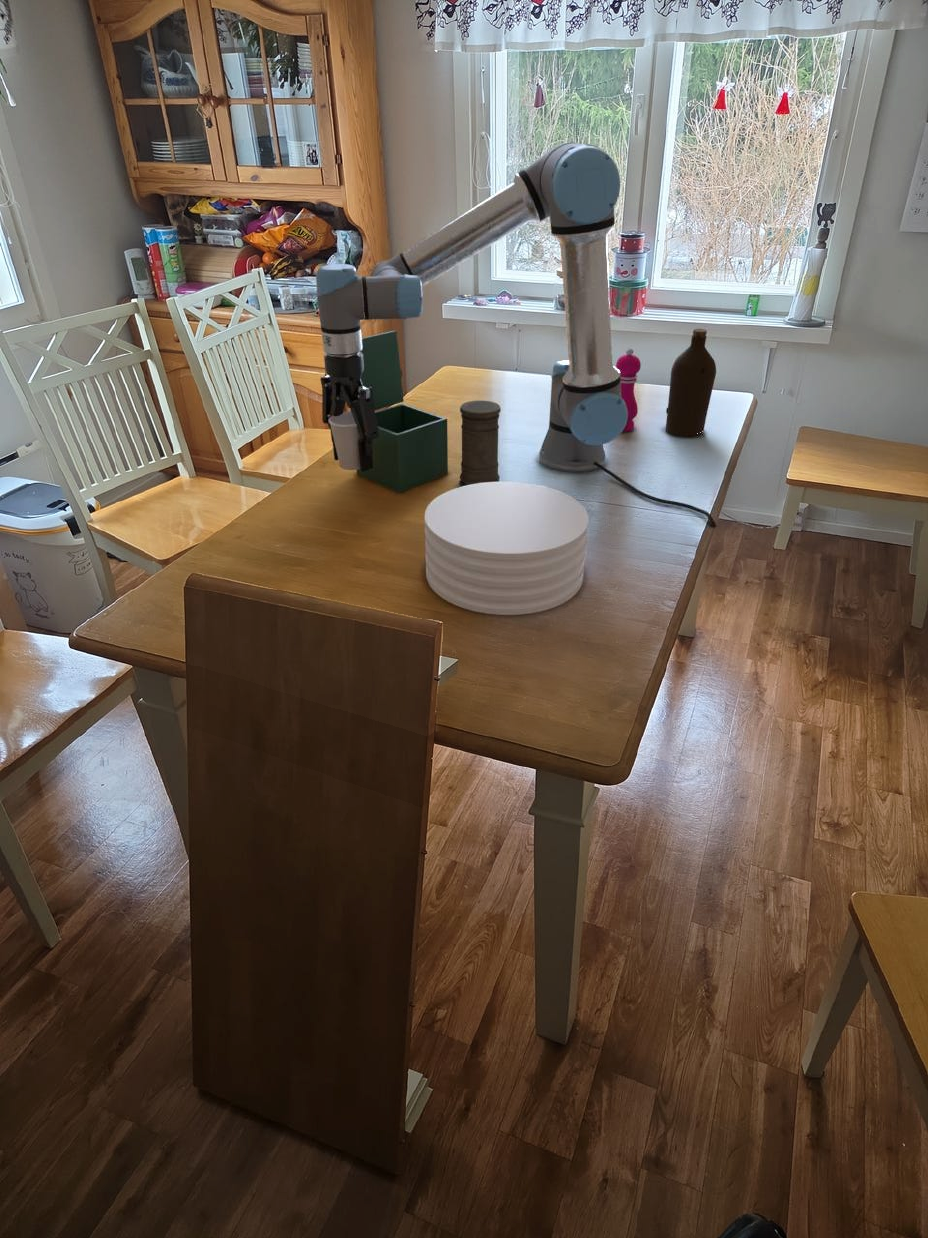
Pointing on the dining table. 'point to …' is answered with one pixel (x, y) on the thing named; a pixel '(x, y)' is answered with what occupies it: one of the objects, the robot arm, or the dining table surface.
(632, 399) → the pepper mill
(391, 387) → the lid
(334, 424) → the dixie cup
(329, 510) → the dining table surface
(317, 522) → the dining table surface
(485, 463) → the container
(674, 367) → the olive oil
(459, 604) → the plate stack
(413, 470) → the chest
